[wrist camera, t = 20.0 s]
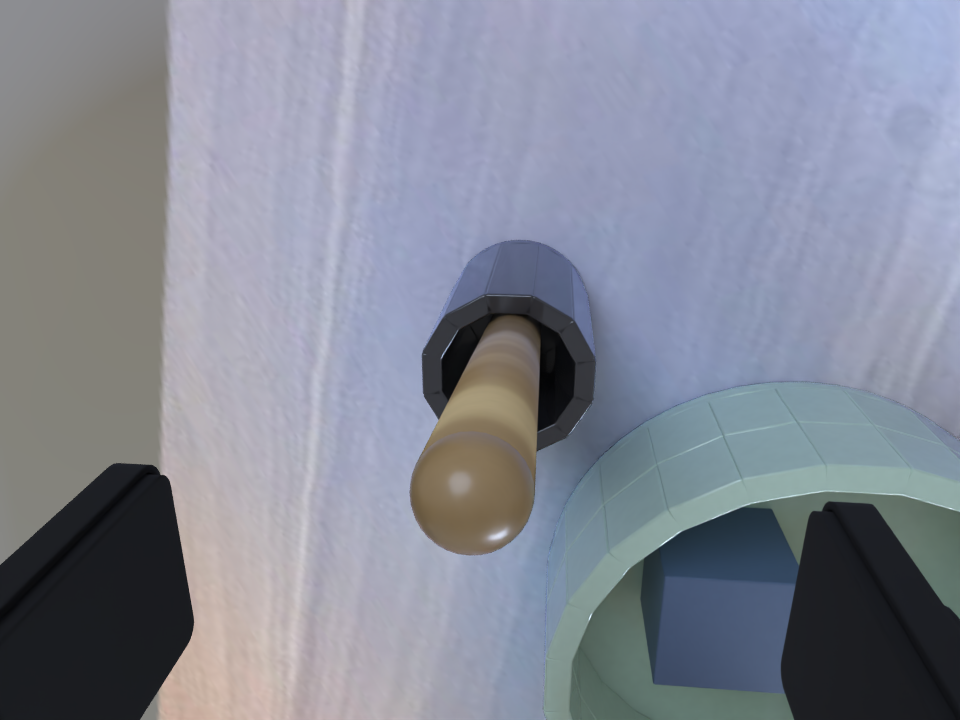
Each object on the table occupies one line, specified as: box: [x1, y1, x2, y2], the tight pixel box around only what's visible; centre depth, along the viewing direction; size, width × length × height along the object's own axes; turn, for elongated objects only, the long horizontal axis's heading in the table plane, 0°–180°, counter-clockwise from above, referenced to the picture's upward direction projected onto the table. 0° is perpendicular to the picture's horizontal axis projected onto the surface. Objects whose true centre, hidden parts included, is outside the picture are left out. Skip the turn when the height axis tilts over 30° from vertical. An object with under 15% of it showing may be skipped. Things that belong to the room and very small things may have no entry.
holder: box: [422, 240, 596, 451], centre depth 21 cm, size 4×4×6 cm
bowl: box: [543, 382, 960, 720], centre depth 24 cm, size 16×16×6 cm
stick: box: [410, 314, 541, 556], centre depth 16 cm, size 1×1×16 cm
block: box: [640, 507, 799, 694], centre depth 24 cm, size 4×4×4 cm
